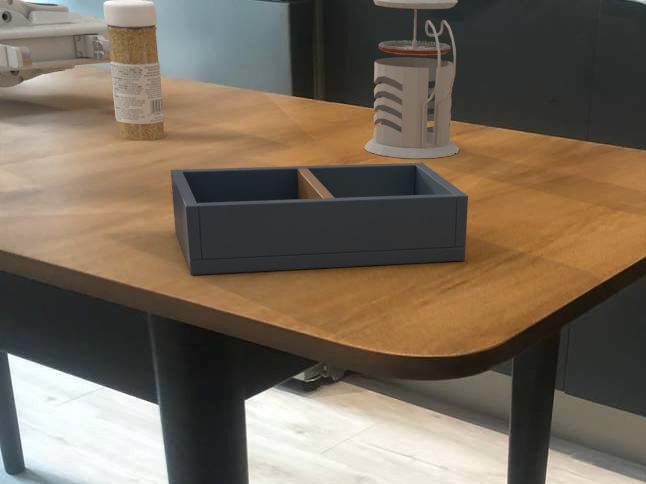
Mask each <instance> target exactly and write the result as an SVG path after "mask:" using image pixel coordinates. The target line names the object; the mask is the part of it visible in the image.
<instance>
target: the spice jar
mask: <svg viewBox="0 0 646 484" xmlns="http://www.w3.org/2000/svg"><path fill="white" fill-rule="evenodd" d="M102 7H103V8H102V9H103V18H104V20H105V24H107V25H108V27H107V30H108V38H109V47H110V48H109V49H110V60H111V63H110V70H111V80H112V96H113V104H114V114H115V115H114V116H115V120H116V127H117V136H118V138H119V139H122V140H126V141H137V142H139V141H141V142H143V141H154V140H155V141H157V140H160V139H163V138H165V129H164V127H165V126H164V120H165V116H164V115H165V114H164V104H163V103H164V102H163V90H162V89H163V88H162V79H161V78H162V77H161V68H160V67H161V65H160V61H159V55H158V43H157V29H158V28H157V26H156V25H157V24H158V18H157V9H156V8H157V7H156V4H155V2H153V1H151V0H106V1H104V2H103V4H102Z"/></svg>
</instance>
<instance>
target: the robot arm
mask: <svg viewBox="0 0 646 484" xmlns="http://www.w3.org/2000/svg"><path fill="white" fill-rule="evenodd" d="M107 27H108V25H107V24H105V20H104V19H103V18H101V17H100V18H99V17H97V16H92V15H88V14H83V13H79V12H71V11H70V10H69V7H68V5H65V4H57V3H49V2H48V3H47V2H43V3H42V2H31V1H24V0H0V88H11V87H12V88H13V87H15V86H18V85H20V84H22V83H23V82H25V81H29V80H32V79H35V78H38V77H40V76H42V75H46V74H52V73H58V72H63V71H66V70H72V69H74V68H75V67H76V66H83V65H84V66H85V65H96V64H111V60H110V49H109V48H110V47H109V38H108V30H107Z"/></svg>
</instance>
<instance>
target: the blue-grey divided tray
mask: <svg viewBox="0 0 646 484" xmlns="http://www.w3.org/2000/svg"><path fill="white" fill-rule="evenodd" d="M170 179H171V183H170V184H171V195H172V206H173V207H172V208H173V218H174V230H175V231H174V232H175V234H176V237H177V240H178V242H179V246H180V248H181V251H182V254H183V256H184V259H185V263H186V265H187V268H188V271H189V273H190V275H191V276H200V275H218V274H219V275H220V274H240V273H259V272H275V271H295V270H313V269H314V270H315V269H333V268H334V269H335V268H351V267H352V268H353V267H354V268H355V267H370V266H371V267H373V266H389V265H409V264H411V265H412V264H426V263H427V264H428V263H446V262H447V263H449V262H464V261H466V260H465V259H466V245H467V244H466V242H467V228H468V227H467V225H468V224H467V223H468V207H469V195H468V194H466V193H465V192H464V191H462V190H461V189H460V188H458V187H457V186H455V185H454V184H452V183H451V182H450V181H448V180H447V179H446V178H444V177H443V176H442V175H440V174H439V173H437V172H436V171H435V170H433V169H432V168H431V167H429V166H428V165H427V164H426V163H424V162H401V163H395V162H394V163H367V164H365V163H364V164H363V163H362V164H331V165H329V164H328V165H326V164H325V165H294V166H292V165H291V166H290V165H289V166H260V167H259V166H258V167H257V166H256V167H255V166H254V167H221V168H220V167H219V168H218V167H217V168H187V169H185V168H184V169H183V168H182V169H170Z"/></svg>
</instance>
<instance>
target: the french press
mask: <svg viewBox="0 0 646 484" xmlns="http://www.w3.org/2000/svg"><path fill="white" fill-rule="evenodd" d="M458 2H459V1H458V0H373V3H374V5H375V6H379V7H385V8H395V9H413V15H414V16H413V39H412V40H404V39H402V40H387V41H381V42H380V43H378V45H377V48H378V49H379V50H381V51H382V52H384V53H387V54H393V55H403V56H404V55H405V57H401V56H400V57H385V58H379V59H375V60H374V70H373V71H374V73H373V75H374V76H373V77H374V78H373V83H374V84H375V85H376V86H375V87H374V89H373V97H374V98H375V101H374V102H373V111H374V112H375V114H374V115H373V125H375V127H374V128H373V137H371V139H370V140H368V141H367V143H366V144H365V145H364V147H363V149H364V150H365V151H367V152H368V153H371V154H375V155H378V156H383V157H391V158H399V159H400V158H401V159H438V158H444V157H451V156H453V155H456V154H458V153H459V152H458V150H459V151H460V148H459V147H458V146H457V145H456V143H455V142H454V141H452V140H451V120H452V119H451V118H452V110H451V109H452V93H453V86H454V82H455V79H456V68H457V67H456V66H457V49H456V48H457V47H456V43H455V38H454V35H453V30H452V29H451V26H450V24H449V23H448V22H447V20H444V19H442V20H441V22H440V30H439V31H438V32H437V30H436V27H435V26H434V24H433V23H432V21H431V20H430V19H427V20H426V21H425V27H424V28H425V29H424V31H425V35H426V36H428V37H430V38H434V39H435V42H433V41H428V42H427V40H425V41H424V40H422V41H421V40H417V20H418V19H417V18H418V10H443V9H444V10H445V9H451V8H454V7H455V6H456V5H457V3H458ZM444 25H445V27H446V28H447V30H448V33H449V36H450V39H451V45H449V44H447V43H443V42H440V41H439V36H441V35H442V34H443V32H444ZM429 26H430V28H431V29H432V31H433V32H432V33H431V32H429V30H428V28H429ZM451 49H452V55H453V61H449V60H444V59H442V58H441V56H442V55H445V54H448V53H449V52H450V50H451ZM407 56H409V57H407ZM410 56H437V58H430V57H429V58H427V57H410ZM429 82H434V87H429ZM433 98H434V100H433ZM428 109H434V110H433V113H428ZM379 110H380V111H379ZM428 122H433V126H428ZM379 123H380V124H379ZM455 153H456V154H455Z"/></svg>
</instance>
